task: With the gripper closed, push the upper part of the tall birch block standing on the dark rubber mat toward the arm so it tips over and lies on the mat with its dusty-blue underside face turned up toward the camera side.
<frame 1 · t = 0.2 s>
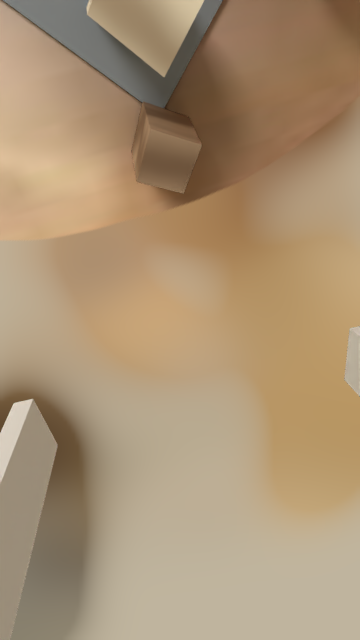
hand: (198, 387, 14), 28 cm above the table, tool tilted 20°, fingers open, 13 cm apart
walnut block: (159, 134, 31), on the table, tilted 6°, touching rubber mat
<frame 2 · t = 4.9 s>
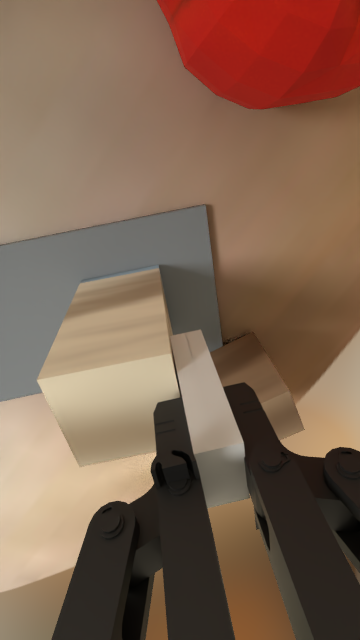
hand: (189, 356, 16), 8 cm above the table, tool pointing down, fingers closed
rubber mat: (79, 314, 22), on the table
birch block: (129, 306, 22), resting on rubber mat, touching gripper
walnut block: (235, 363, 26), on the table, tilted 6°, touching rubber mat
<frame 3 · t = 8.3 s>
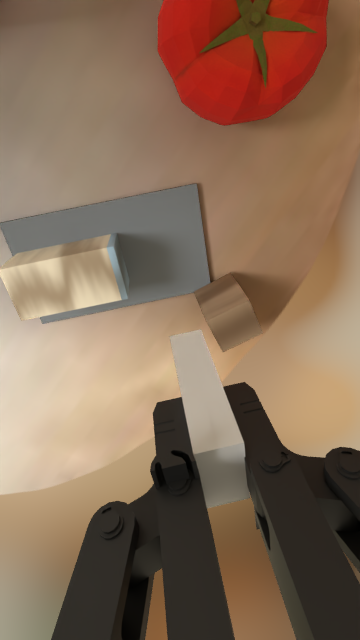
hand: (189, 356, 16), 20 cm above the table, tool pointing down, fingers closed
tomato: (225, 51, 27), on the table
rubber mat: (114, 257, 33), on the table
birch block: (122, 264, 31), point 3 cm above the table, tilted 90°, touching rubber mat
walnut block: (219, 297, 37), on the table, tilted 6°, touching rubber mat
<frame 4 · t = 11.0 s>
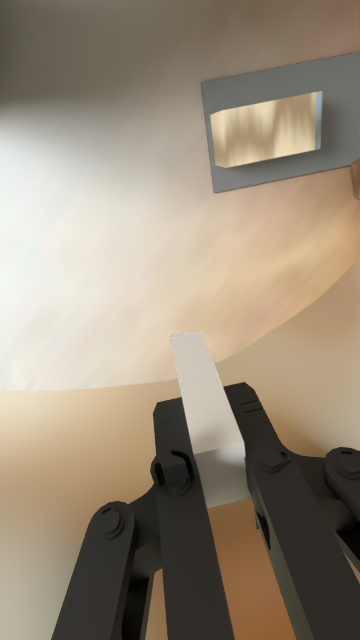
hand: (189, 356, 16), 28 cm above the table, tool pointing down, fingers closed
rubber mat: (288, 125, 37), on the table
birch block: (309, 122, 34), point 3 cm above the table, tilted 90°, touching rubber mat
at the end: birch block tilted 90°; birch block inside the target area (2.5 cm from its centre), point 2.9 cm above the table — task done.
